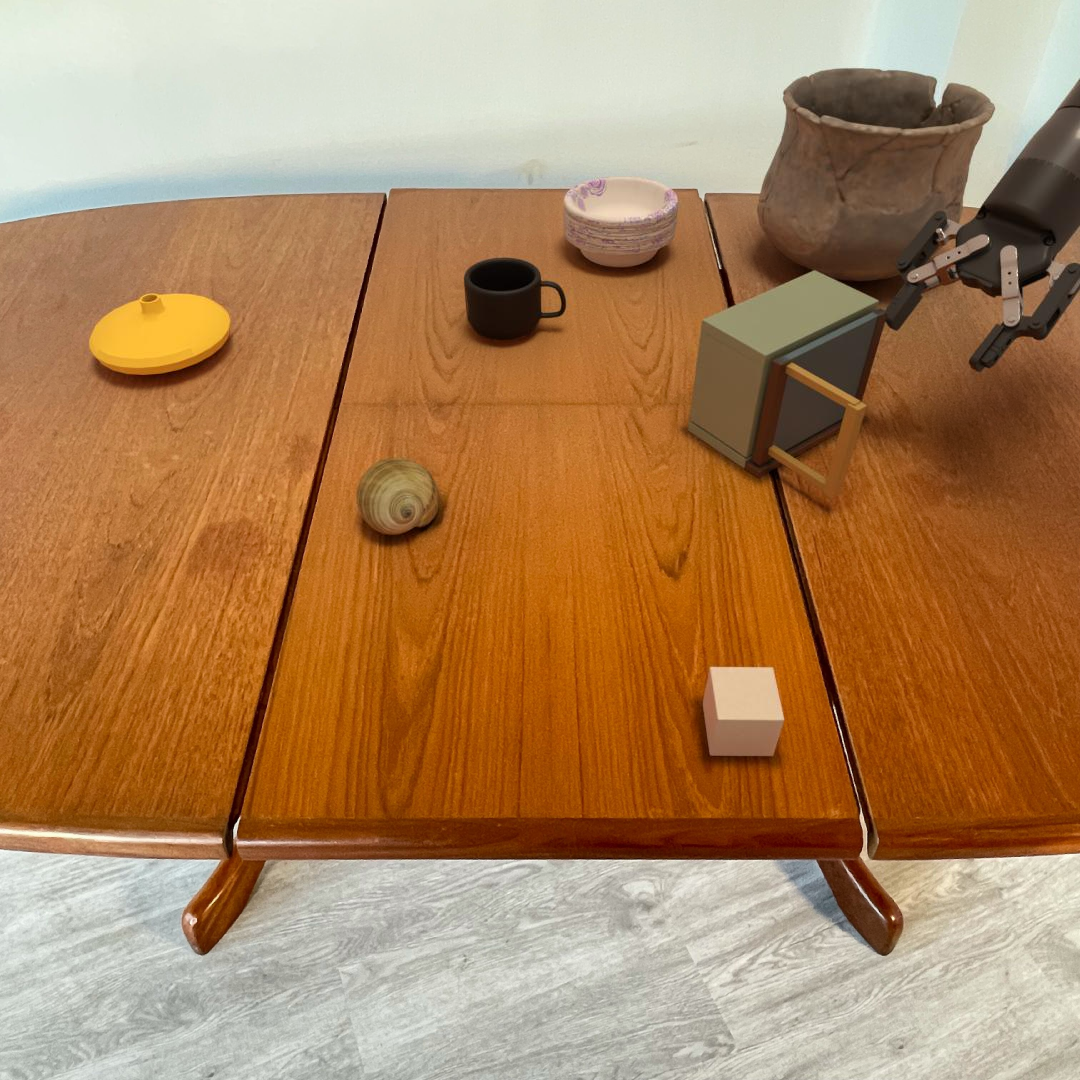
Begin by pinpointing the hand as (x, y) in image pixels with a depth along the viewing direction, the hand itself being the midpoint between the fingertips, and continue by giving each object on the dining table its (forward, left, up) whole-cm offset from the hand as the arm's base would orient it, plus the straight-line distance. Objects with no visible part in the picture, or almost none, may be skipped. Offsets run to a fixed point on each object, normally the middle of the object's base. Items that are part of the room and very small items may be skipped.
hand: (931, 346), depth 77 cm
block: (+31, +18, -14) cm, 39 cm away
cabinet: (+5, -12, -14) cm, 19 cm away
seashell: (+45, -16, -14) cm, 50 cm away
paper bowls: (0, -53, -14) cm, 55 cm away
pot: (-25, -36, -14) cm, 46 cm away
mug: (+21, -41, -14) cm, 49 cm away
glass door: (+4, -3, -13) cm, 14 cm away
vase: (+60, -55, -14) cm, 83 cm away
